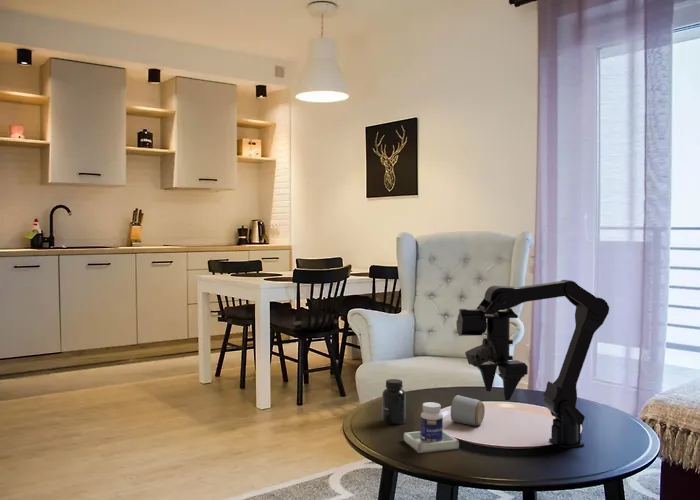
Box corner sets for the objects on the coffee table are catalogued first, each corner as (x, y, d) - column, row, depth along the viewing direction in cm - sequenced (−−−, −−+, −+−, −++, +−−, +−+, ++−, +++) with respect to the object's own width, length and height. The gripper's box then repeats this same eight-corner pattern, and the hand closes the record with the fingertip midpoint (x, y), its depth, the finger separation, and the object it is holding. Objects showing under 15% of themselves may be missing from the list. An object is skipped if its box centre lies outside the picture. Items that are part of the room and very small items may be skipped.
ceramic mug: (477, 429, 175) (477, 401, 175) (449, 424, 179) (450, 397, 179) (489, 420, 184) (489, 394, 184) (462, 416, 188) (463, 390, 188)
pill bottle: (427, 447, 159) (427, 408, 158) (416, 440, 164) (416, 402, 163) (446, 444, 161) (447, 406, 161) (435, 437, 166) (435, 400, 166)
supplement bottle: (378, 423, 180) (378, 382, 180) (386, 417, 186) (386, 377, 186) (401, 426, 177) (401, 384, 177) (408, 419, 184) (408, 379, 183)
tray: (441, 436, 169) (441, 428, 169) (458, 448, 159) (458, 440, 159) (403, 440, 165) (403, 432, 165) (418, 453, 156) (419, 445, 156)
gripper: (453, 331, 167) (452, 389, 167) (488, 343, 149) (488, 408, 150) (490, 329, 170) (489, 386, 171) (529, 340, 153) (528, 404, 153)
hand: (497, 395), depth 161 cm, fingers open, 9 cm apart
